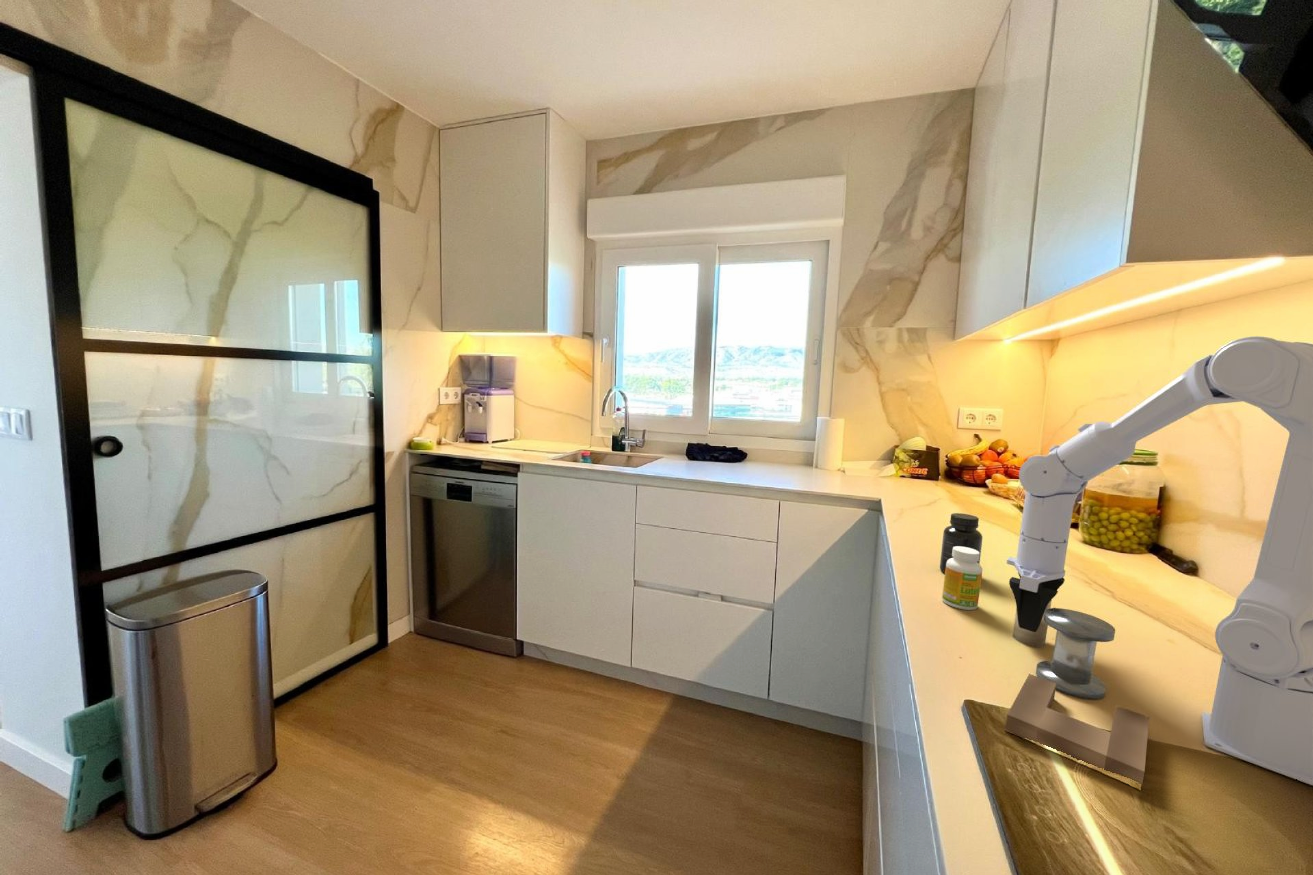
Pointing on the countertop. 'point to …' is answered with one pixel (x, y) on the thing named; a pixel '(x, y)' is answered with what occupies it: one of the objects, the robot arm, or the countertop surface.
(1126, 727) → the notched board
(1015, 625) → the beige banded cylinder
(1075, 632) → the bobbin post
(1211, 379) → the robot arm
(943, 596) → the supplement bottle
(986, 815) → the countertop surface
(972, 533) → the supplement bottle
